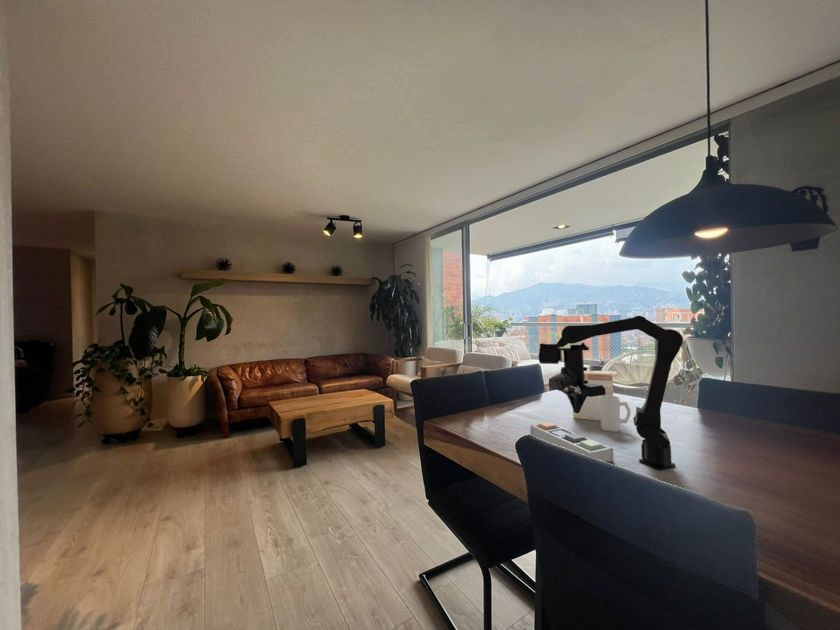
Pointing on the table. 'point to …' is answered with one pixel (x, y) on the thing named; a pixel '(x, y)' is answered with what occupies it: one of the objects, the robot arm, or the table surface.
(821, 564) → the table surface
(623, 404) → the mug
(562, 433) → the key blue
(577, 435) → the key charcoal
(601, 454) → the keypad
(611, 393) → the coffeecake box
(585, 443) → the key sage
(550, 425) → the key terracotta
